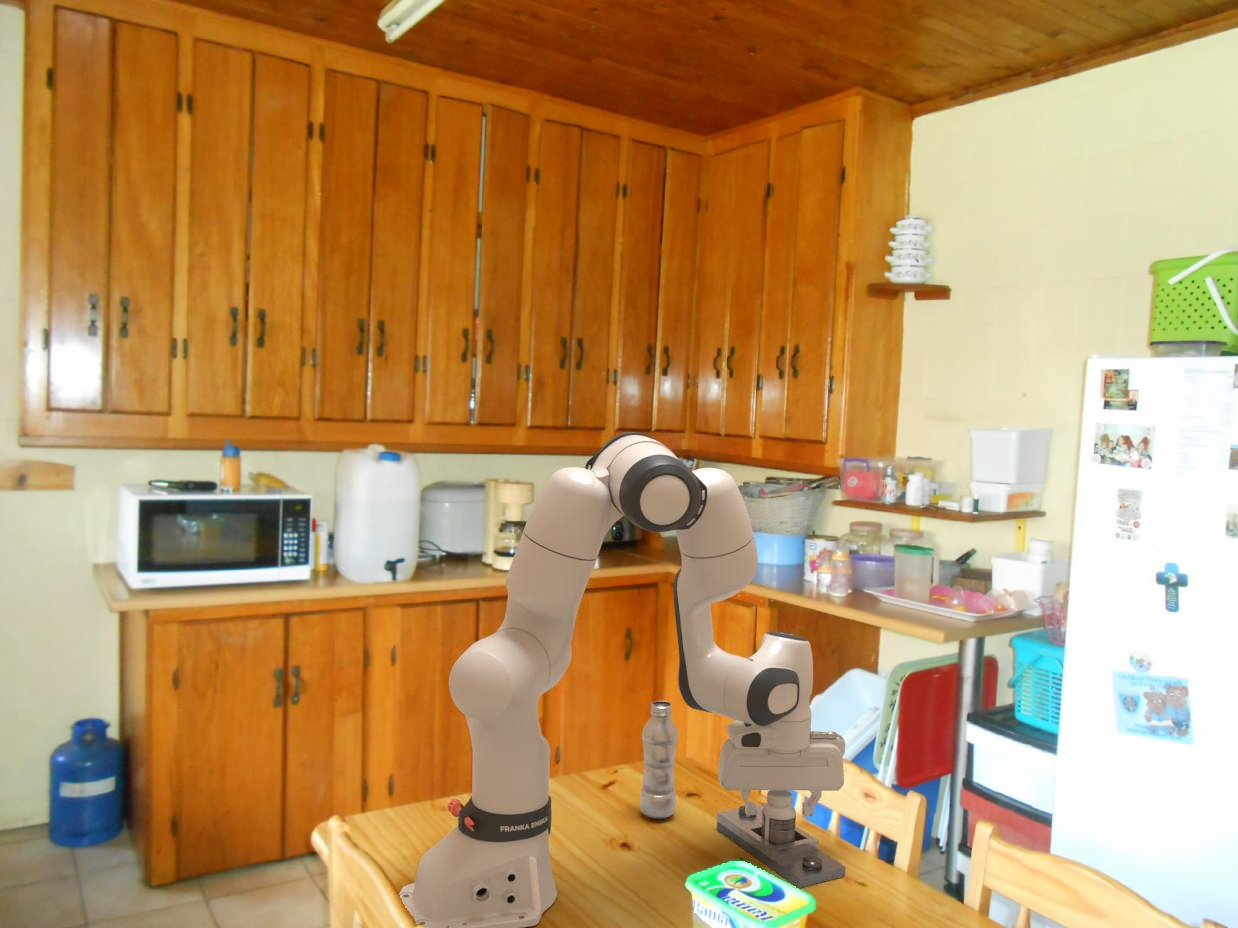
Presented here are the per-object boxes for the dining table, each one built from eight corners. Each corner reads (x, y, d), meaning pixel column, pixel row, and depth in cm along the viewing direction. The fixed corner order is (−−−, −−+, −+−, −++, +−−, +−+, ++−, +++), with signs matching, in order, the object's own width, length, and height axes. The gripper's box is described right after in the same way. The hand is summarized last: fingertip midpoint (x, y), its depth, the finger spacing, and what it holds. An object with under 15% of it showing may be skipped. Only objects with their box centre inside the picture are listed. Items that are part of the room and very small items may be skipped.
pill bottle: (800, 853, 152) (803, 794, 152) (780, 863, 148) (782, 802, 148) (774, 841, 156) (777, 784, 156) (753, 850, 153) (756, 792, 152)
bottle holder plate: (799, 888, 141) (800, 863, 140) (716, 829, 160) (717, 807, 160) (845, 876, 145) (846, 852, 145) (759, 820, 164) (760, 799, 164)
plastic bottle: (682, 813, 166) (686, 702, 165) (663, 827, 160) (668, 711, 159) (651, 804, 169) (655, 695, 169) (631, 817, 164) (635, 704, 163)
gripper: (839, 725, 155) (835, 807, 156) (717, 723, 154) (714, 806, 155) (851, 738, 149) (847, 823, 150) (725, 736, 148) (721, 822, 148)
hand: (779, 814), depth 152 cm, fingers open, 8 cm apart
